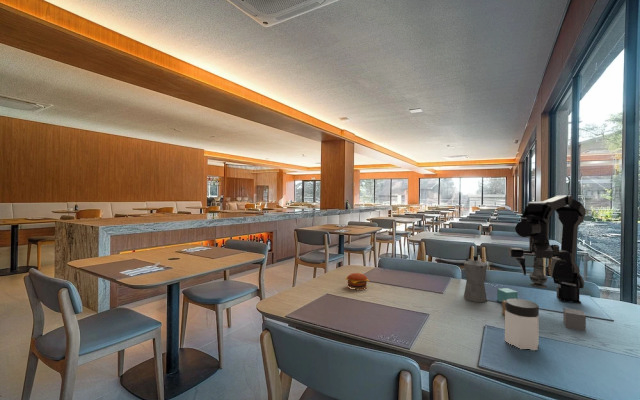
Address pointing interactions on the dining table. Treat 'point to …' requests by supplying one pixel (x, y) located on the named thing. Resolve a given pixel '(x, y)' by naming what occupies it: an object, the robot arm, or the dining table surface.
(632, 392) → the dining table surface
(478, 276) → the coffeepot
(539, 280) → the salt shaker
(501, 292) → the teal block
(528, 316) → the jar
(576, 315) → the grey cube
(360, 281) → the hamburger
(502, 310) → the walnut block
